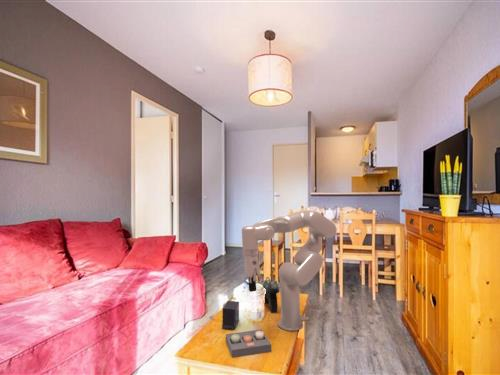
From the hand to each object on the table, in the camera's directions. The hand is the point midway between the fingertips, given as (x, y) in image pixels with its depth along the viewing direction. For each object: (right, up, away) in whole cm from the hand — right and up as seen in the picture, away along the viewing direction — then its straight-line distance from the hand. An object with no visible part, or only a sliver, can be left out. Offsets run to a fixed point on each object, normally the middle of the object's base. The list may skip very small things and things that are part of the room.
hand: (252, 290), depth 133 cm
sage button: (-8, -18, -12) cm, 23 cm away
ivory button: (+3, -18, -9) cm, 20 cm away
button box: (-2, -21, -10) cm, 23 cm away
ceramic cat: (+10, -23, +33) cm, 41 cm away
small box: (-11, -22, +10) cm, 26 cm away
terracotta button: (-2, -19, -10) cm, 22 cm away
